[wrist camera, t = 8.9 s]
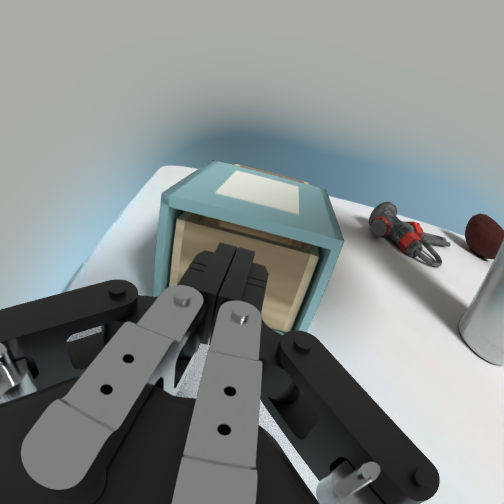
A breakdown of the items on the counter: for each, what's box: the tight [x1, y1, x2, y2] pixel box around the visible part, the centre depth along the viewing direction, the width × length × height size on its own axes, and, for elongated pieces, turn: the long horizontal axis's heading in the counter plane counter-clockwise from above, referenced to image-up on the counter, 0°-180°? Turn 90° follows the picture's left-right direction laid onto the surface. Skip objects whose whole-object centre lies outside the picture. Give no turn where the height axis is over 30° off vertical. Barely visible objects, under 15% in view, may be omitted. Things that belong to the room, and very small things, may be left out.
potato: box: [465, 214, 504, 259], centre depth 60 cm, size 11×13×10 cm
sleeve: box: [153, 160, 344, 335], centre depth 27 cm, size 13×12×10 cm
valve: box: [369, 202, 450, 267], centre depth 52 cm, size 6×26×15 cm
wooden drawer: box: [169, 164, 319, 332], centre depth 32 cm, size 22×10×7 cm, turn 172°
